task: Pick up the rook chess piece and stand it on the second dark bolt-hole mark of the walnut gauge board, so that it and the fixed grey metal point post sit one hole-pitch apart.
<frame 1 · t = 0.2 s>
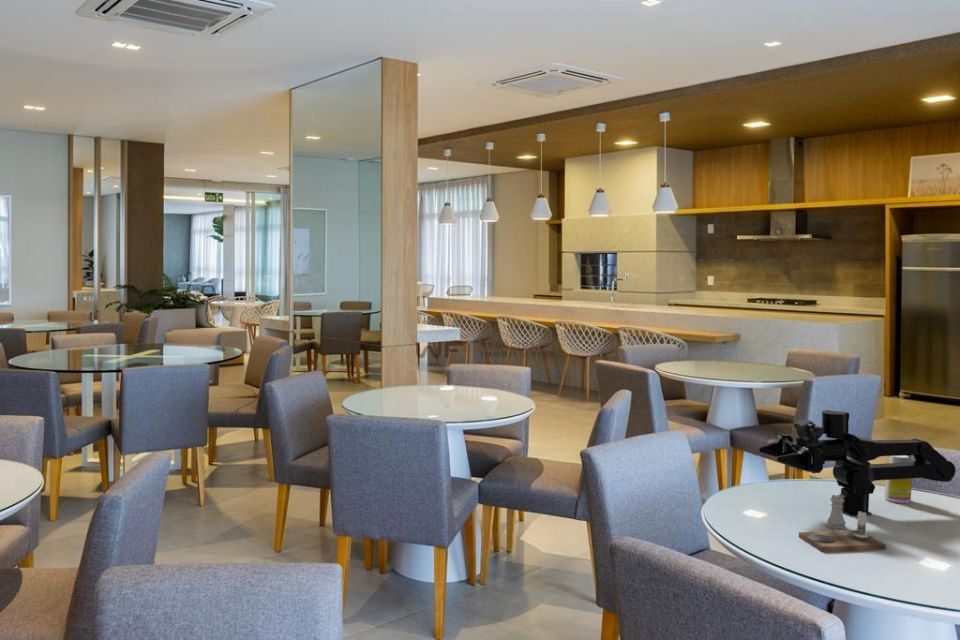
hand: (768, 454, 209), 16 cm above the table, tool horizontal, fingers open, 9 cm apart
supplement bottle: (897, 501, 226), on the table
point post: (860, 542, 191), resting on gauge board
gauge board: (841, 543, 190), on the table
rook chess piece: (836, 528, 202), on the table
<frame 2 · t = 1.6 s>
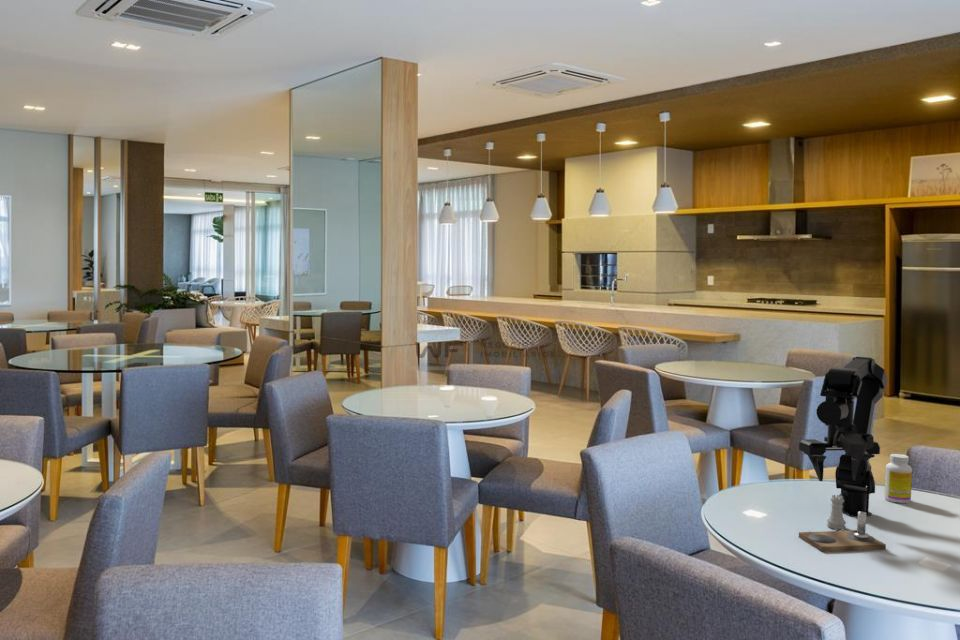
hand: (837, 480, 201), 12 cm above the table, tool pointing down, fingers open, 9 cm apart
nothing on the table moved.
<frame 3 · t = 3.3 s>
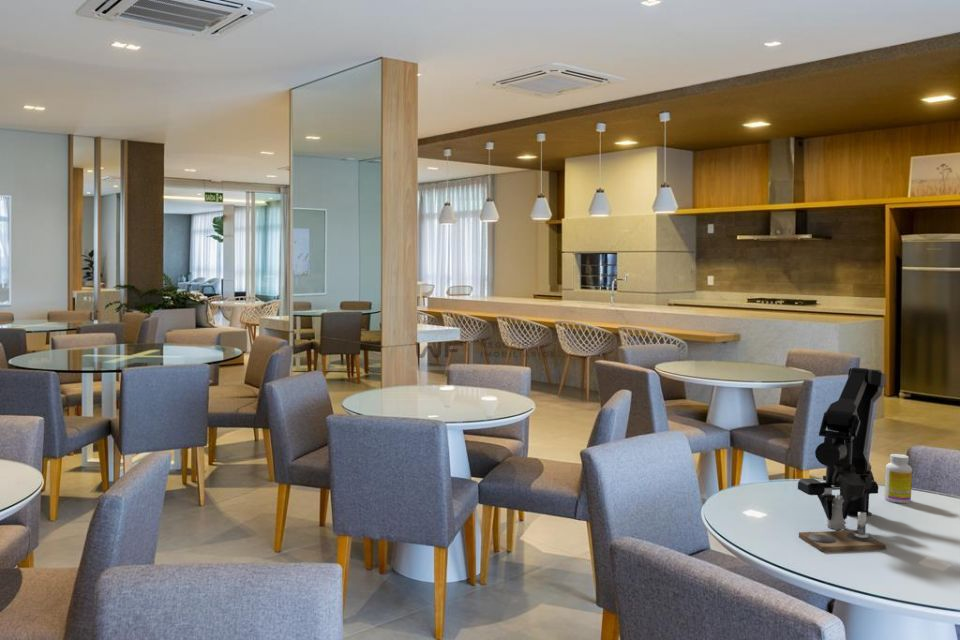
hand: (836, 519, 202), 2 cm above the table, tool pointing down, fingers closed on rook chess piece, 3 cm apart
rook chess piece: (836, 528, 202), on the table, touching gripper
everything else where it was.
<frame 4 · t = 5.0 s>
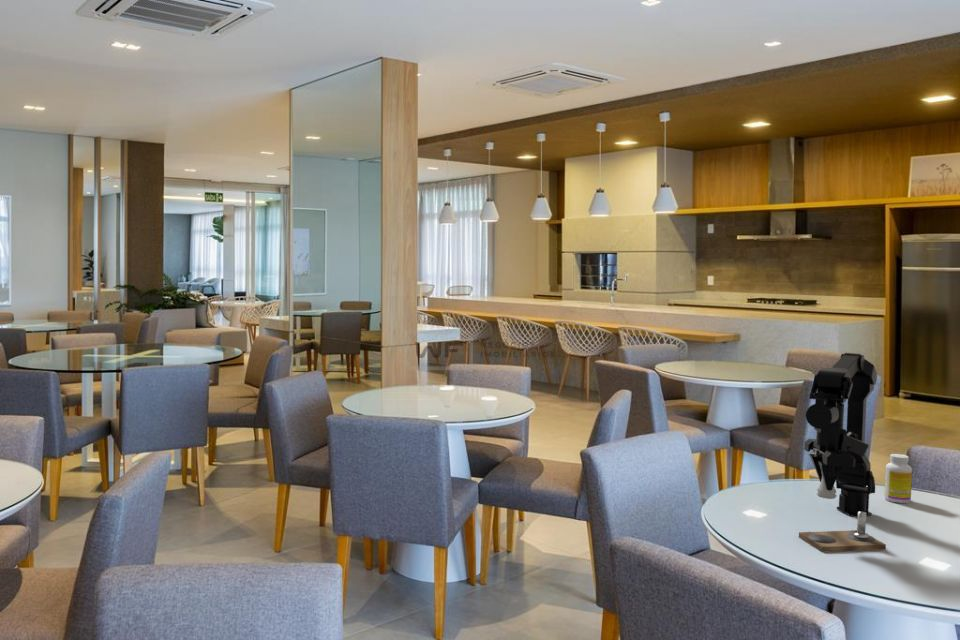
hand: (826, 488, 191), 13 cm above the table, tool pointing down, fingers closed on rook chess piece, 3 cm apart
rook chess piece: (826, 497, 191), point 10 cm above the table, touching gripper
everything else where it was.
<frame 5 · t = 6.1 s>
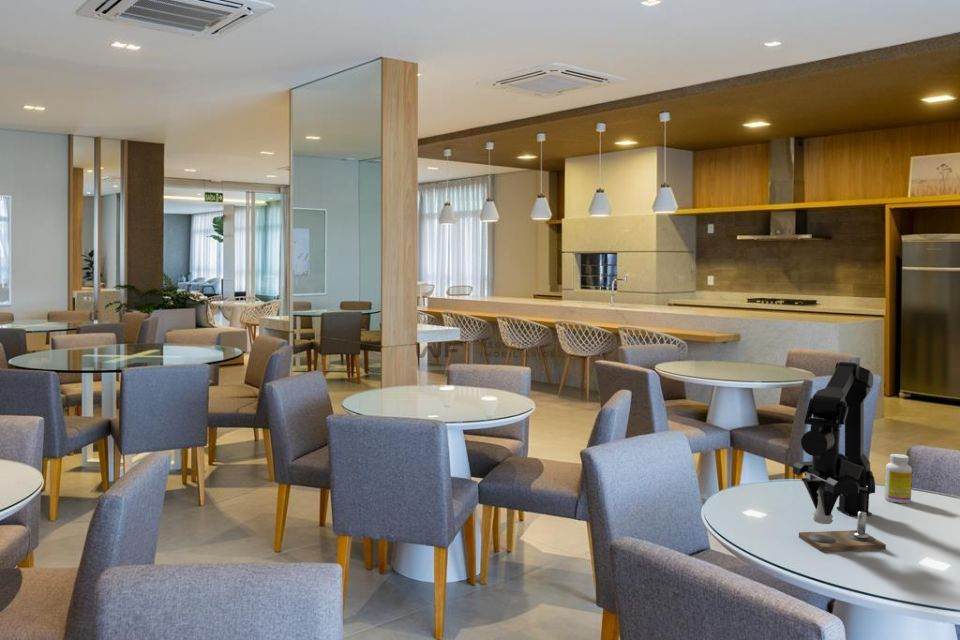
hand: (823, 512, 189), 7 cm above the table, tool pointing down, fingers closed on rook chess piece, 3 cm apart
rook chess piece: (822, 522, 189), point 5 cm above the table, touching gripper
everything else where it was.
when the fingers open (4 cm above the table, at t = 7.0 s): rook chess piece stays where it is, resting on gauge board.
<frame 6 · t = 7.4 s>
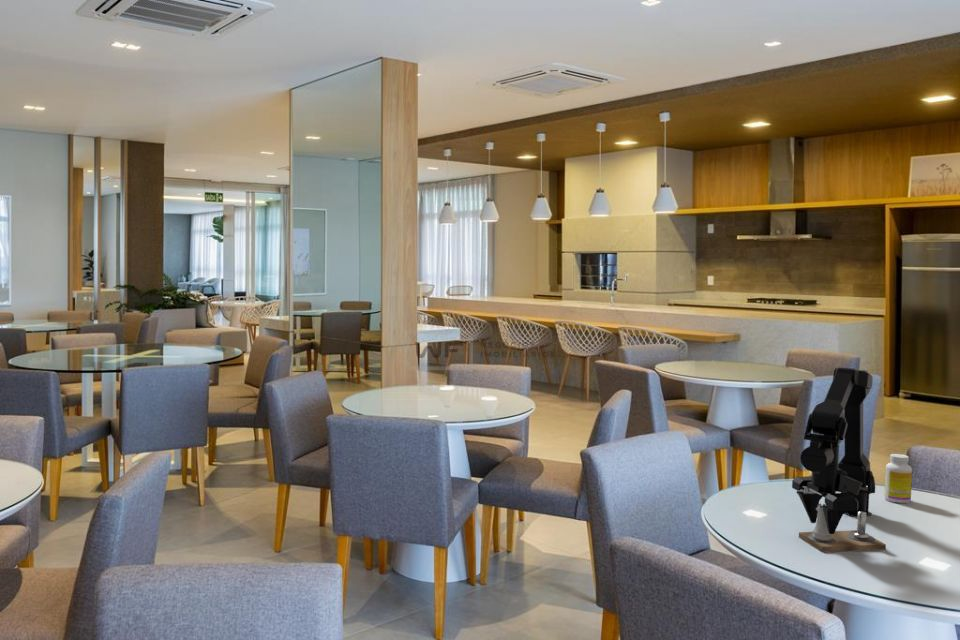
hand: (822, 528, 189), 4 cm above the table, tool pointing down, fingers open, 7 cm apart
rook chess piece: (821, 539, 190), point 1 cm above the table, touching gauge board
everything else where it was.
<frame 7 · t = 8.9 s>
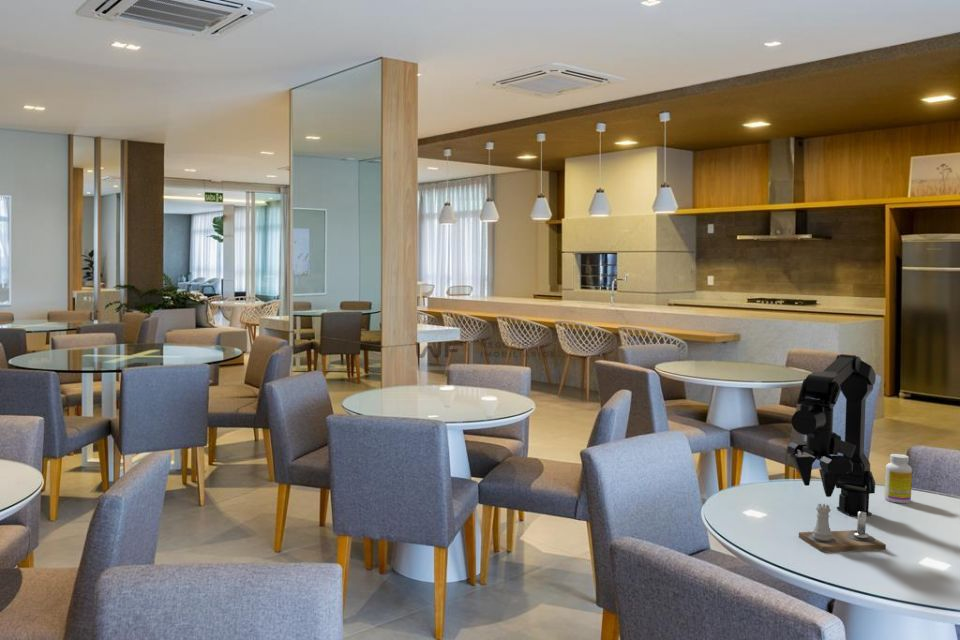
hand: (817, 490, 193), 11 cm above the table, tool pointing down, fingers open, 9 cm apart
nothing on the table moved.
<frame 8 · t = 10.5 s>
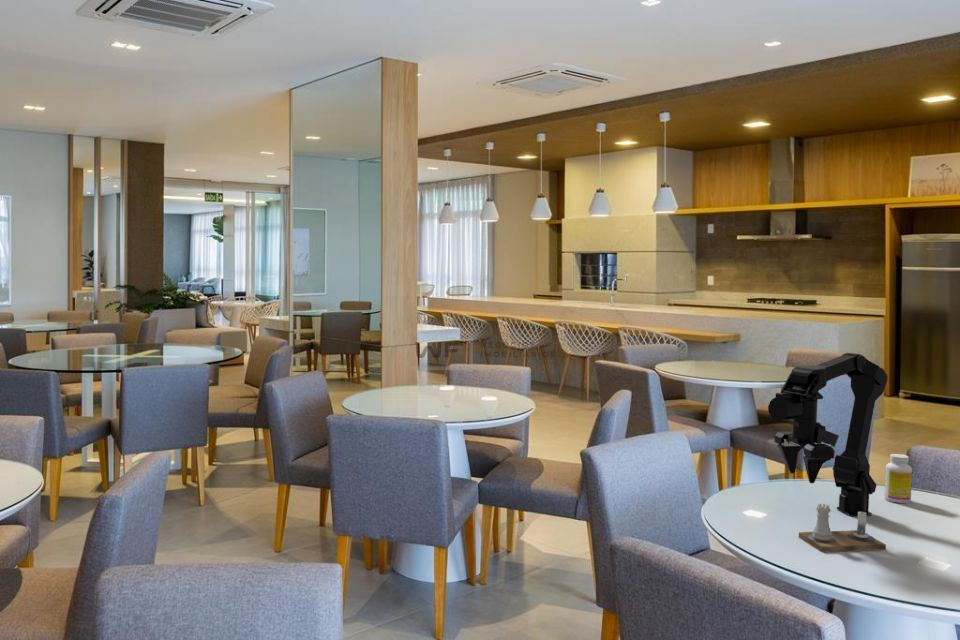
hand: (802, 478, 203), 12 cm above the table, tool pointing down, fingers open, 9 cm apart
nothing on the table moved.
at the end: rook chess piece 0.1 cm from the target spot, point 1.1 cm above the table; rook chess piece tilted 0°; the gripper is holding nothing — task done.
